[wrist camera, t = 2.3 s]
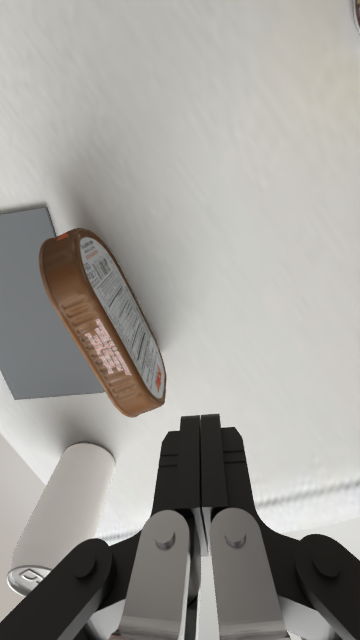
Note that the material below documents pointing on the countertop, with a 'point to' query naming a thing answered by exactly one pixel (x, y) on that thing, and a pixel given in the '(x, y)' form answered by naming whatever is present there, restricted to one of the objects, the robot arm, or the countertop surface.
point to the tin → (104, 319)
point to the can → (63, 514)
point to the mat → (34, 318)
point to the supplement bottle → (357, 13)
